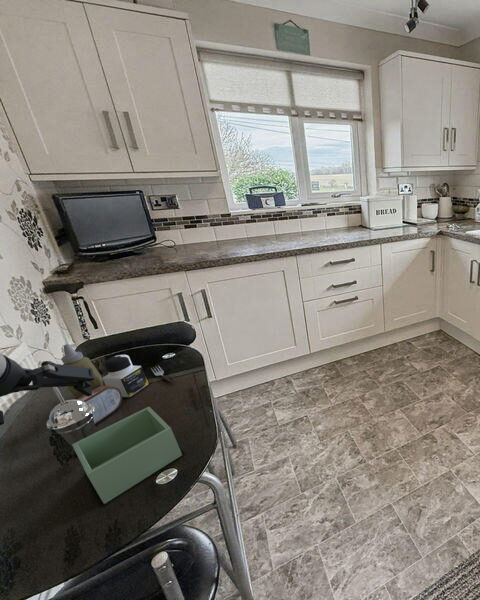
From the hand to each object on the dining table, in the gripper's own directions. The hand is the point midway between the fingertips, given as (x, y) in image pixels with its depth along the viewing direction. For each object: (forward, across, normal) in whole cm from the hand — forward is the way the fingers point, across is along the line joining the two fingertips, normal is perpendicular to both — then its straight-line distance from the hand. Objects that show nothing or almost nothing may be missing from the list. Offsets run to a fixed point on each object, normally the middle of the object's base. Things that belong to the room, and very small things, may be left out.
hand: (47, 403), depth 69 cm
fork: (+37, +16, +11) cm, 42 cm away
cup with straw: (+19, 0, -7) cm, 20 cm away
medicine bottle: (+37, +6, +11) cm, 39 cm away
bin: (+8, +10, -18) cm, 22 cm away
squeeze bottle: (+42, -4, +16) cm, 45 cm away
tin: (+28, 0, +2) cm, 28 cm away
